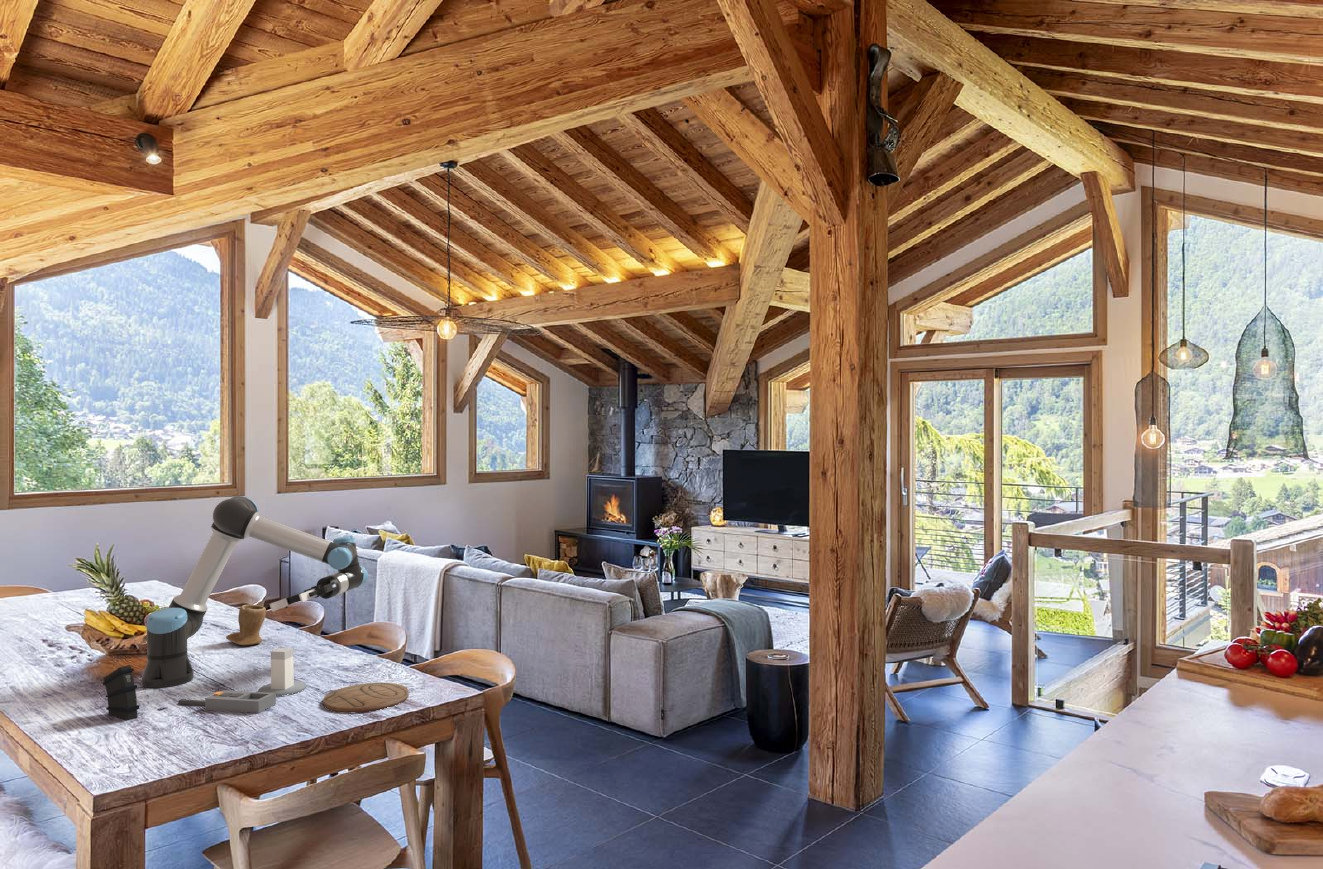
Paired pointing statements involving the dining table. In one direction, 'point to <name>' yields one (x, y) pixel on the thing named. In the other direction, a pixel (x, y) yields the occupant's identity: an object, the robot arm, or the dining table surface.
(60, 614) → the dining table surface
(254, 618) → the brown boot
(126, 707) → the magazine
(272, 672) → the block
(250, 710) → the power strip
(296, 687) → the mat
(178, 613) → the robot arm
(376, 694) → the trivet
